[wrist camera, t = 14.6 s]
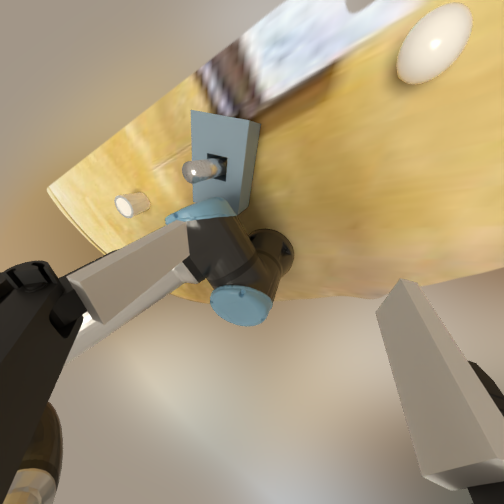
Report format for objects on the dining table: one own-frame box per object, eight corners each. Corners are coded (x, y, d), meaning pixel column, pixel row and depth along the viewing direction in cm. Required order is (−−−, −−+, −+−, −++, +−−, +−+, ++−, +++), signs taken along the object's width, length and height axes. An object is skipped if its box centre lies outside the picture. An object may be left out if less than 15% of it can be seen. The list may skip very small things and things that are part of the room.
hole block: (248, 206, 48) (237, 214, 42) (208, 195, 50) (193, 201, 44) (260, 123, 38) (249, 120, 32) (209, 114, 40) (190, 109, 34)
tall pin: (236, 173, 44) (199, 185, 31) (223, 170, 45) (182, 181, 32) (237, 157, 42) (199, 163, 29) (224, 154, 43) (181, 159, 30)
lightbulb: (385, 49, 27) (414, 3, 19) (440, 31, 25) (503, -31, 16) (378, 101, 30) (400, 84, 22) (427, 89, 28) (474, 64, 19)
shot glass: (155, 204, 58) (136, 211, 52) (146, 215, 62) (127, 222, 56) (139, 186, 56) (119, 190, 51) (131, 198, 60) (111, 203, 54)
